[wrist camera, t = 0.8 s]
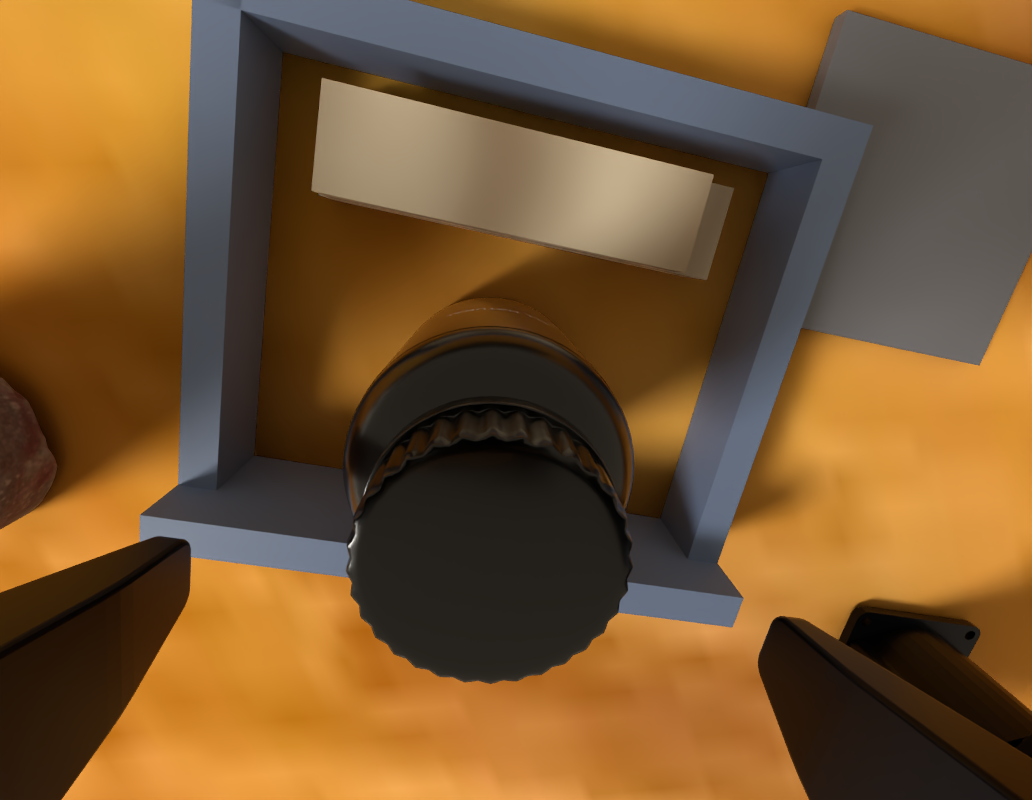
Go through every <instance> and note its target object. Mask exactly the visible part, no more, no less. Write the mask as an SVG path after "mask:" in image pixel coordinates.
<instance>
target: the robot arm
mask: <svg viewBox="0 0 1032 800" xmlns="http://www.w3.org/2000/svg"><path fill="white" fill-rule="evenodd" d="M190 571H191V547H190V543H189V542H188V541H187V540H185V539H179V538H171V537H163V536H156V537H152V538H150V539H147V540H144V541H141V542H139V543H136V544H133V545H130V546H128V547H125V548H122V549H119V550H117V551H114V552H111V553H108V554H106V555H103V556H100V557H97V558H95V559H92V560H89V561H86V562H84V563H81V564H78V565H75V566H73V567H70V568H67V569H64V570H62V571H59V572H56V573H53V574H50V575H48V576H45V577H42V578H39V579H37V580H34V581H31V582H28V583H26V584H23V585H20V586H17V587H15V588H12V589H9V590H6V591H4V592H1V593H0V800H62V798H63V797H64V795H65V794H66V793H67V791H68V790H69V788H70V787H71V786H72V784H73V783H74V781H75V780H76V779H77V777H78V776H79V774H80V773H81V772H82V770H83V769H84V767H85V766H86V765H87V763H88V762H89V760H90V759H91V758H92V756H93V755H94V753H95V752H96V751H97V749H98V748H99V746H100V745H101V744H102V742H103V741H104V739H105V738H106V737H107V735H108V734H109V732H110V731H111V729H112V728H113V726H114V725H115V723H116V722H117V721H118V719H119V718H120V716H121V715H122V713H123V712H124V710H125V708H126V707H127V705H128V703H129V702H130V700H131V698H132V697H133V695H134V693H135V692H136V690H137V688H138V687H139V685H140V683H141V681H142V680H143V678H144V676H145V674H146V673H147V671H148V669H149V667H150V666H151V664H152V662H153V661H154V659H155V657H156V655H157V654H158V652H159V650H160V648H161V647H162V645H163V643H164V642H165V640H166V638H167V636H168V635H169V633H170V631H171V629H172V628H173V626H174V624H175V623H176V621H177V619H178V617H179V616H180V614H181V612H182V610H183V609H184V607H185V605H186V602H187V600H188V596H189V592H190ZM979 636H980V630H979V629H978V628H977V627H976V626H975V625H973V624H972V623H971V622H969V621H965V620H957V619H950V618H943V617H936V616H929V615H922V614H915V613H907V612H900V611H893V610H886V609H879V608H872V607H858V608H856V609H855V610H854V611H853V612H852V613H851V615H850V617H849V619H848V622H847V624H846V626H845V628H844V631H843V633H842V635H841V637H840V639H839V640H837V639H836V638H834V637H832V636H831V635H829V634H827V633H826V632H824V631H822V630H821V629H819V628H818V627H816V626H814V625H813V624H811V623H809V622H808V621H806V620H804V619H801V618H793V617H785V616H779V617H777V618H775V619H774V620H773V622H772V623H771V626H770V628H769V631H768V634H767V636H766V639H765V641H764V644H763V646H762V649H761V651H760V654H759V658H758V668H759V673H760V676H761V679H762V682H763V684H764V687H765V690H766V692H767V695H768V698H769V700H770V703H771V706H772V708H773V711H774V714H775V716H776V719H777V722H778V724H779V727H780V730H781V732H782V735H783V738H784V740H785V743H786V746H787V748H788V751H789V754H790V756H791V759H792V761H793V764H794V766H795V769H796V771H797V774H798V776H799V779H800V781H801V783H802V785H803V787H804V790H805V792H806V794H807V796H808V798H809V800H1032V711H1031V710H1030V709H1029V708H1027V707H1026V706H1025V705H1024V704H1023V703H1021V702H1020V701H1019V700H1018V699H1017V698H1015V697H1014V696H1013V695H1012V694H1011V693H1009V692H1008V691H1007V690H1006V689H1005V688H1003V687H1002V686H1001V685H1000V684H999V683H998V682H996V681H995V680H994V679H993V678H992V677H990V676H989V675H988V674H987V673H986V672H984V671H983V670H982V669H981V668H980V667H978V666H977V665H976V664H975V663H974V662H972V661H971V660H970V659H969V658H968V656H969V655H970V653H971V651H972V649H973V647H974V645H975V644H976V642H977V640H978V638H979Z"/></svg>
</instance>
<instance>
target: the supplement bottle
mask: <svg viewBox="0 0 1032 800" xmlns="http://www.w3.org/2000/svg"><path fill="white" fill-rule="evenodd" d="M633 478H634V453H633V444H632V439H631V434H630V430H629V427H628V423H627V421H626V418H625V416H624V413H623V411H622V409H621V407H620V405H619V403H618V401H617V399H616V398H615V396H614V394H613V392H612V391H611V390H610V388H609V387H608V385H607V384H606V382H605V381H604V380H603V378H602V377H601V376H600V375H599V374H598V372H597V371H596V370H595V369H594V368H593V367H592V365H591V364H590V363H589V362H588V361H587V360H586V359H585V357H584V356H583V355H582V354H581V353H580V352H579V351H578V350H577V348H576V347H575V346H574V345H573V344H572V343H571V342H570V340H569V339H568V338H567V337H566V336H565V335H564V334H563V332H562V331H561V330H560V329H559V328H558V327H557V326H556V325H555V324H554V323H553V322H551V321H550V320H549V319H548V318H547V317H546V316H544V315H543V314H541V313H540V312H538V311H537V310H535V309H533V308H531V307H529V306H527V305H525V304H522V303H520V302H517V301H513V300H509V299H504V298H495V297H482V298H474V299H469V300H465V301H461V302H458V303H455V304H453V305H451V306H449V307H446V308H444V309H443V310H441V311H439V312H438V313H436V314H435V315H434V316H432V317H431V318H430V319H429V320H427V321H426V322H425V323H424V324H423V325H422V326H421V327H420V328H419V329H418V330H417V331H416V332H415V333H414V335H413V336H412V337H411V338H410V339H409V340H408V342H407V343H406V344H405V345H404V346H403V347H402V348H401V350H400V351H399V352H398V353H397V354H396V355H395V357H394V358H393V359H392V360H391V361H390V362H389V363H388V365H387V366H386V367H385V368H384V369H383V370H382V372H381V373H380V374H379V375H378V376H377V377H376V379H375V380H374V381H373V383H372V384H371V385H370V387H369V388H368V390H367V391H366V393H365V394H364V396H363V398H362V400H361V401H360V403H359V405H358V407H357V409H356V411H355V413H354V415H353V418H352V420H351V422H350V426H349V429H348V432H347V435H346V441H345V446H344V455H343V480H344V487H345V493H346V497H347V501H348V505H349V507H350V510H351V513H352V516H353V529H352V531H351V533H350V535H349V537H348V540H347V545H346V546H347V550H348V554H349V559H348V562H347V565H346V573H347V575H348V577H349V578H350V580H351V582H352V585H351V596H352V598H353V599H354V600H355V601H356V602H357V603H358V605H359V609H360V616H361V618H362V619H363V620H364V621H365V622H367V623H368V624H369V625H370V626H371V627H372V630H373V633H374V635H375V638H377V639H379V640H380V641H382V642H384V643H386V644H387V645H388V646H389V648H390V650H391V651H392V652H393V654H394V655H397V656H400V657H403V658H406V659H407V660H408V661H409V662H410V663H411V664H412V665H413V666H414V667H415V668H420V669H427V670H430V671H431V672H433V673H434V674H435V675H437V676H439V677H454V678H456V679H458V680H460V681H463V682H472V681H481V682H485V683H489V684H492V683H496V682H499V681H502V680H506V681H519V680H521V679H523V678H524V677H527V676H531V675H542V674H543V673H545V672H546V671H548V670H549V669H550V668H551V667H554V666H559V665H563V664H565V663H566V662H567V661H569V660H570V658H571V657H572V656H573V655H575V654H577V653H580V652H582V651H584V650H586V649H587V648H588V646H589V645H590V643H591V641H592V640H593V639H594V638H596V637H598V636H600V635H601V634H603V633H604V631H605V629H606V626H607V623H608V621H609V620H610V619H611V618H613V617H614V616H615V615H616V614H617V613H618V611H619V604H620V600H621V599H622V598H623V597H624V596H625V594H626V593H627V591H628V582H627V578H628V576H629V575H630V573H631V571H632V568H633V563H632V559H631V556H630V551H631V548H632V544H633V541H632V536H631V534H630V532H629V530H628V528H627V516H626V512H625V511H626V508H627V505H628V502H629V498H630V494H631V490H632V485H633Z"/></svg>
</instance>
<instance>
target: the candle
mask: <svg viewBox="0 0 1032 800" xmlns="http://www.w3.org/2000/svg"><path fill="white" fill-rule="evenodd" d="M56 471H57V464H56V461H55V458H54V456H53V454H52V453H51V451H50V450H49V449H48V447H47V443H46V438H45V436H44V435H43V433H42V431H41V429H40V426H39V424H38V422H37V419H36V416H35V414H34V412H33V410H32V408H31V406H30V404H29V402H28V401H27V400H26V399H25V398H24V397H23V396H22V395H21V394H19V393H18V392H16V391H15V390H13V389H12V387H11V386H10V385H9V384H8V383H7V382H6V381H5V380H4V379H3V378H1V377H0V529H2V528H4V527H5V526H7V525H9V524H10V523H12V522H14V521H16V520H17V519H19V518H21V517H23V516H24V515H26V514H28V513H30V512H31V511H32V510H33V509H34V508H36V507H37V506H38V505H39V504H40V503H41V502H42V501H43V499H44V497H45V495H46V493H47V492H48V491H49V489H50V488H51V485H52V483H53V481H54V478H55V475H56Z"/></svg>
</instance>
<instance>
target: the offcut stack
mask: <svg viewBox="0 0 1032 800" xmlns="http://www.w3.org/2000/svg"><path fill="white" fill-rule="evenodd" d="M713 177H714V175H713V174H709V173H705V172H701V171H697V170H693V169H689V168H685V167H681V166H677V165H673V164H669V163H665V162H661V161H657V160H653V159H649V158H645V157H641V156H636V155H632V154H628V153H624V152H620V151H616V150H612V149H608V148H604V147H600V146H596V145H592V144H588V143H584V142H580V141H576V140H572V139H568V138H564V137H560V136H556V135H551V134H547V133H543V132H539V131H535V130H531V129H527V128H523V127H519V126H515V125H511V124H507V123H503V122H499V121H495V120H491V119H487V118H483V117H479V116H475V115H471V114H467V113H462V112H458V111H454V110H450V109H446V108H442V107H438V106H434V105H430V104H426V103H422V102H418V101H414V100H410V99H406V98H402V97H398V96H394V95H390V94H386V93H382V92H378V91H373V90H369V89H365V88H361V87H357V86H353V85H349V84H345V83H341V82H337V81H333V80H329V79H325V78H322V81H321V91H320V102H319V113H318V124H317V135H316V145H315V156H314V167H313V178H312V189H311V191H313V192H316V193H318V195H320V196H323V197H325V198H328V199H331V200H335V201H339V202H344V203H348V204H353V205H357V206H362V207H367V208H371V209H376V210H380V211H385V212H389V213H394V214H399V215H403V216H408V217H412V218H417V219H422V220H426V221H431V222H435V223H440V224H444V225H449V226H454V227H458V228H463V229H467V230H472V231H476V232H481V233H486V234H490V235H495V236H499V237H504V238H508V239H513V240H518V241H522V242H527V243H531V244H536V245H540V246H545V247H550V248H554V249H559V250H563V251H568V252H572V253H577V254H582V255H586V256H591V257H595V258H600V259H604V260H609V261H614V262H618V263H623V264H627V265H632V266H636V267H641V268H646V269H650V270H655V271H659V272H664V273H669V274H673V275H678V276H682V277H687V278H694V279H702V280H707V278H708V275H709V271H710V268H711V265H712V261H713V258H714V255H715V251H716V248H717V245H718V241H719V238H720V234H721V231H722V228H723V224H724V221H725V218H726V214H727V211H728V208H729V204H730V201H731V198H732V194H733V191H734V188H732V187H728V186H724V185H720V184H716V183H712V180H713Z"/></svg>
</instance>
